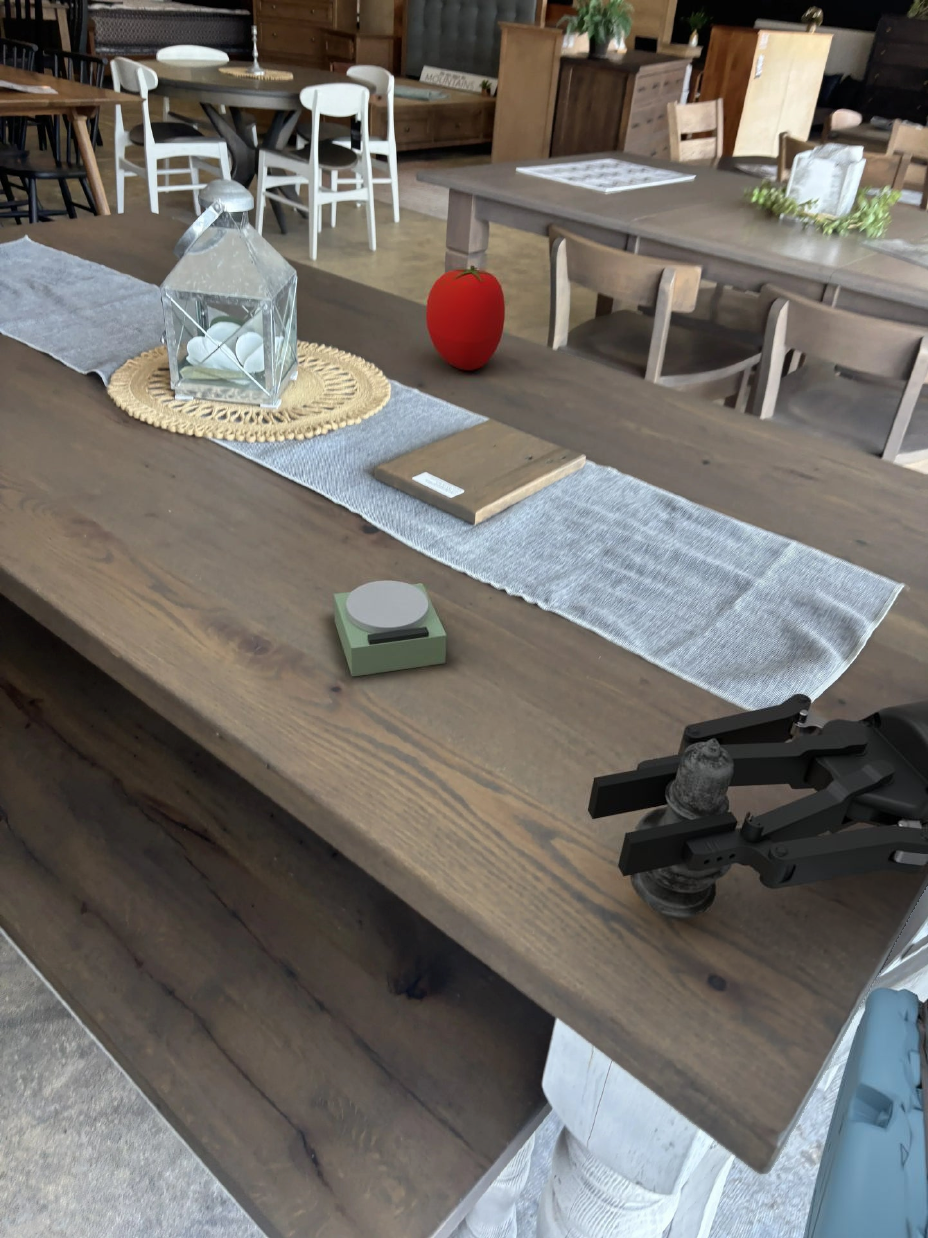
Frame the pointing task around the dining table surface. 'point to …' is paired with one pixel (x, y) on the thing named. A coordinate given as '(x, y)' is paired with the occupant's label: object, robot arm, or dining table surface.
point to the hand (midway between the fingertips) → (609, 825)
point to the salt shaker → (687, 799)
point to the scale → (388, 628)
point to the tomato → (466, 317)
